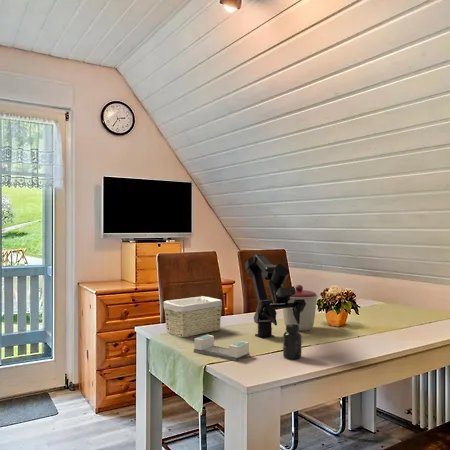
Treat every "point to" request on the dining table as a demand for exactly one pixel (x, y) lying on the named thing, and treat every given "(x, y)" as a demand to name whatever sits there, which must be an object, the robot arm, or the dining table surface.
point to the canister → (308, 311)
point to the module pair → (234, 349)
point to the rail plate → (219, 353)
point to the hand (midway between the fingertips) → (287, 324)
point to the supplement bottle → (292, 342)
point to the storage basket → (192, 315)
